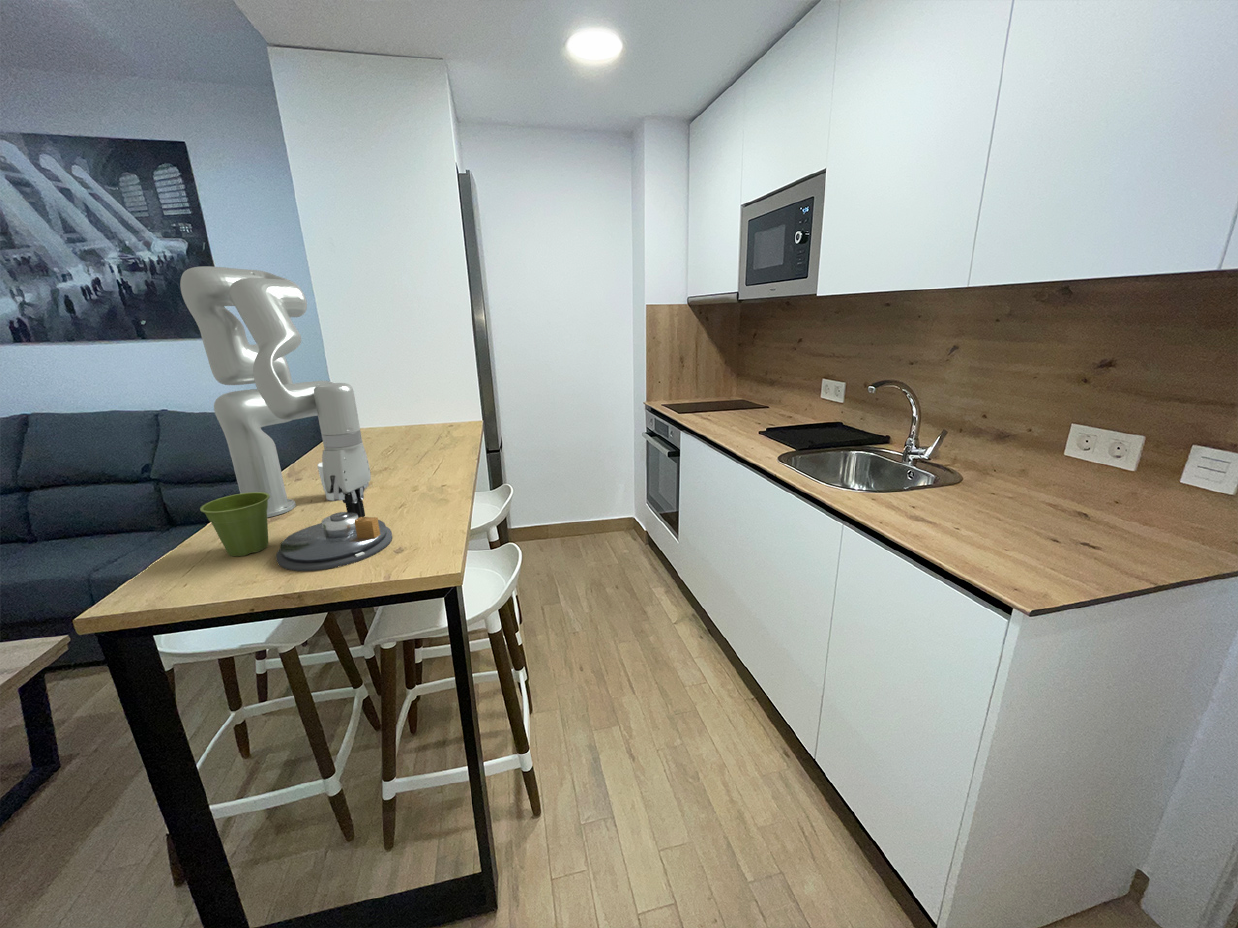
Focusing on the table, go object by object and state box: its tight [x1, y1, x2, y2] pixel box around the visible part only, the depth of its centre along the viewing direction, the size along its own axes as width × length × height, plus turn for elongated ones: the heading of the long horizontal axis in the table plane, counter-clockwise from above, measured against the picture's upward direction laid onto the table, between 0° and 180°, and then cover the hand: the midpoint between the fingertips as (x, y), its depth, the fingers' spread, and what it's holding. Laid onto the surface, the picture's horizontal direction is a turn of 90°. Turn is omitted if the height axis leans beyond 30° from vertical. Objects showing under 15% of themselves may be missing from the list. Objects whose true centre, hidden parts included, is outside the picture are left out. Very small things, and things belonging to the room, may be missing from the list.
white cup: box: [317, 462, 336, 502], centre depth 138 cm, size 8×8×10 cm
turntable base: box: [275, 526, 393, 572], centre depth 107 cm, size 22×22×1 cm
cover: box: [321, 511, 358, 538], centre depth 108 cm, size 7×7×4 cm
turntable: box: [279, 516, 387, 563], centre depth 106 cm, size 20×20×6 cm
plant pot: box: [199, 492, 270, 557], centre depth 105 cm, size 12×12×11 cm
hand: (356, 517), depth 113 cm, fingers closed
